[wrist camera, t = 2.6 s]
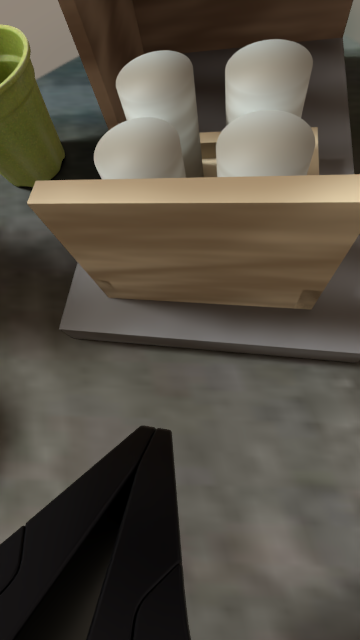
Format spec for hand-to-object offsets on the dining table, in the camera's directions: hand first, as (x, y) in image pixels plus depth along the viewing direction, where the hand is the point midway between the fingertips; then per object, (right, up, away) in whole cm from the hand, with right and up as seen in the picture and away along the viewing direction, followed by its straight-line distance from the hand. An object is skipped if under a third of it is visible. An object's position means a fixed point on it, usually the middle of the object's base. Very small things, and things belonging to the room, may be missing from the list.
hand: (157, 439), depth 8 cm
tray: (+3, +10, +13) cm, 17 cm away
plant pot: (-13, +18, +22) cm, 31 cm away
